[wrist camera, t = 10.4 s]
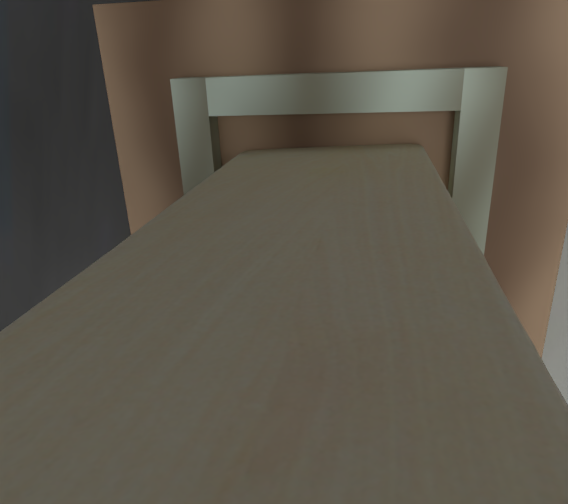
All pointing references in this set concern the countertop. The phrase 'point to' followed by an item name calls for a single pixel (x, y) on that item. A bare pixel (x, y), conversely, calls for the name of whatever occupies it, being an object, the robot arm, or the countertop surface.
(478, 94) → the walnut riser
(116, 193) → the countertop surface
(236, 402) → the toy refrigerator
